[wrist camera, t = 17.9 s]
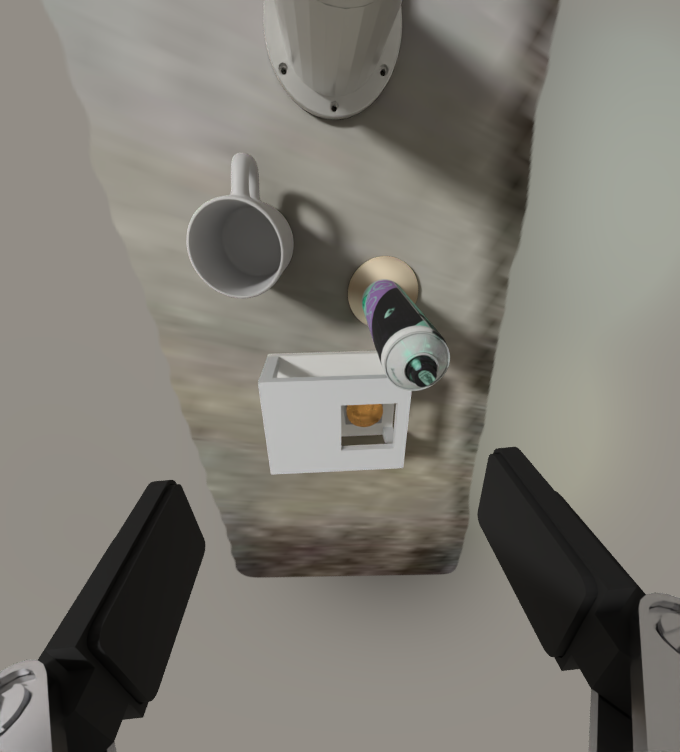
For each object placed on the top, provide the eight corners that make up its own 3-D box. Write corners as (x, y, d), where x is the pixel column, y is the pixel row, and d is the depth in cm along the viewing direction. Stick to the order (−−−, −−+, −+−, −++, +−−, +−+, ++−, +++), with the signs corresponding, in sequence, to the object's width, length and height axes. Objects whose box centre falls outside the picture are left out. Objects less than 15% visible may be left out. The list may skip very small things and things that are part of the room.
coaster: (348, 256, 38) (348, 257, 38) (420, 255, 39) (421, 256, 38) (347, 327, 42) (348, 328, 42) (413, 325, 43) (414, 327, 42)
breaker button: (344, 383, 45) (346, 397, 42) (379, 382, 45) (384, 395, 42) (344, 412, 47) (346, 427, 44) (377, 411, 48) (382, 426, 44)
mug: (292, 282, 39) (284, 303, 30) (222, 275, 38) (189, 295, 29) (297, 169, 34) (288, 149, 24) (215, 158, 33) (173, 133, 23)
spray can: (370, 272, 39) (407, 334, 21) (410, 286, 40) (477, 356, 22) (355, 314, 41) (377, 399, 24) (393, 325, 42) (441, 416, 25)
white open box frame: (268, 353, 43) (257, 382, 36) (397, 349, 44) (413, 377, 37) (278, 435, 50) (270, 474, 42) (390, 430, 51) (403, 467, 43)
